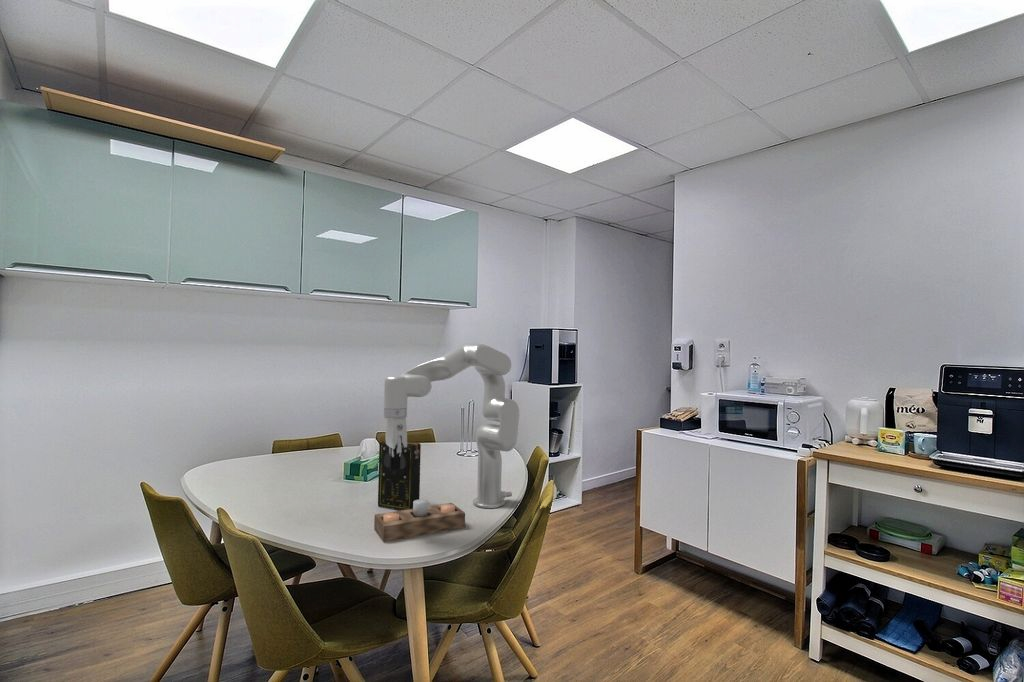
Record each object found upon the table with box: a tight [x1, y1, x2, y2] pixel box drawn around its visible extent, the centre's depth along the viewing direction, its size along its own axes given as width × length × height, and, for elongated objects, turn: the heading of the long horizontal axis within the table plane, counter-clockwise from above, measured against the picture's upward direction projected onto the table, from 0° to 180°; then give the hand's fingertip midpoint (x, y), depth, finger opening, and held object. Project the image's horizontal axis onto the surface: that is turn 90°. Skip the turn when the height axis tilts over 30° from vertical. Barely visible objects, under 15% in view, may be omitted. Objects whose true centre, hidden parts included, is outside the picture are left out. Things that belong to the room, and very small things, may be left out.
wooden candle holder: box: [373, 502, 466, 543], centre depth 162 cm, size 28×12×5 cm, turn 120°
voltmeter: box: [377, 440, 422, 511], centre depth 184 cm, size 16×9×25 cm, turn 70°
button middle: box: [413, 498, 429, 518], centre depth 162 cm, size 5×5×5 cm
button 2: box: [441, 503, 456, 513], centre depth 167 cm, size 5×5×5 cm
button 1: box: [383, 512, 399, 523], centre depth 157 cm, size 5×5×5 cm
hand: (394, 468), depth 158 cm, fingers closed
